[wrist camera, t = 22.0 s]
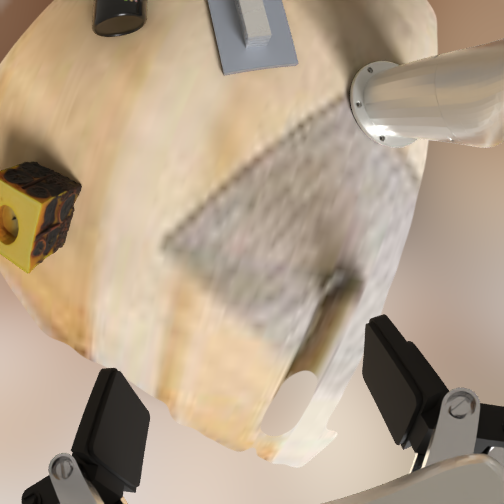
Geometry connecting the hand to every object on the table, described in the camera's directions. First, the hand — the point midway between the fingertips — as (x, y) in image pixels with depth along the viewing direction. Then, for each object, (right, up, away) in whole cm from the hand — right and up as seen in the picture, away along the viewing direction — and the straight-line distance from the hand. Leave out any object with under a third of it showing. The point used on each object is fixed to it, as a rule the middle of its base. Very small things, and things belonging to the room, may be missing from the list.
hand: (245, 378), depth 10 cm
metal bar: (-1, +39, +13) cm, 41 cm away
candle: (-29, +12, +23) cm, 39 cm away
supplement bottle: (-15, +31, +13) cm, 37 cm away
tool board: (-1, +39, +14) cm, 42 cm away
